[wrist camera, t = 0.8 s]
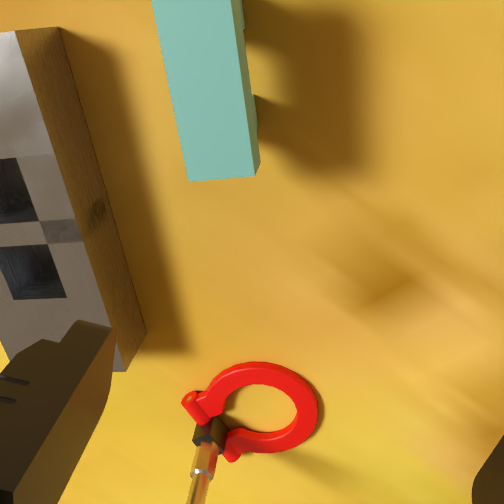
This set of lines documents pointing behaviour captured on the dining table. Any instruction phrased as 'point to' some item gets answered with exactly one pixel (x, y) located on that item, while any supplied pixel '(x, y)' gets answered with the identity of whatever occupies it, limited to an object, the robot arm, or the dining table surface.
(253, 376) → the tow hook
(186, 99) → the teal rectangular prism
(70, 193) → the rectangular board
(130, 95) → the dining table surface
